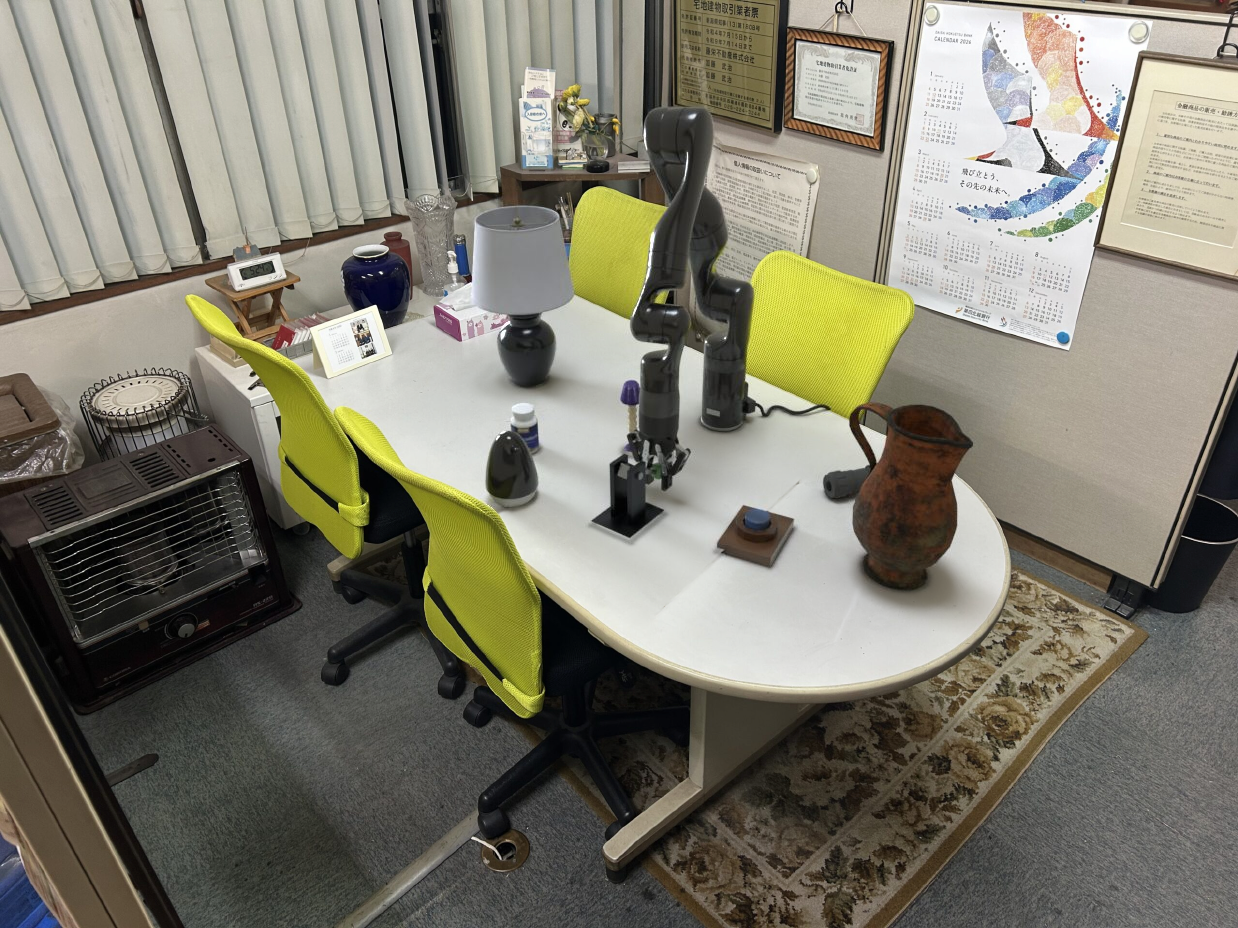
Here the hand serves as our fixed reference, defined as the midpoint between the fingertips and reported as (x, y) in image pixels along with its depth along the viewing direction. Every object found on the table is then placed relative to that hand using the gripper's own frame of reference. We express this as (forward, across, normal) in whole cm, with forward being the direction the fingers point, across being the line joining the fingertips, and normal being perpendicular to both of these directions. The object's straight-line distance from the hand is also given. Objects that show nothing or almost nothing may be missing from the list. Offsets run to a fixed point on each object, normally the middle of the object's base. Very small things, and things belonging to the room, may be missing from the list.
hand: (657, 485), depth 172 cm
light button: (-1, -22, +1) cm, 22 cm away
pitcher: (+3, -44, -6) cm, 45 cm away
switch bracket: (+3, 0, +10) cm, 10 cm away
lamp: (+3, +55, -23) cm, 60 cm away
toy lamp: (+3, +14, -10) cm, 18 cm away
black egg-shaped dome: (+3, +22, +18) cm, 28 cm away
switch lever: (-4, 0, +5) cm, 7 cm away
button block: (+3, -22, +1) cm, 23 cm away
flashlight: (+3, -31, -26) cm, 41 cm away
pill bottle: (+3, +33, +2) cm, 33 cm away
